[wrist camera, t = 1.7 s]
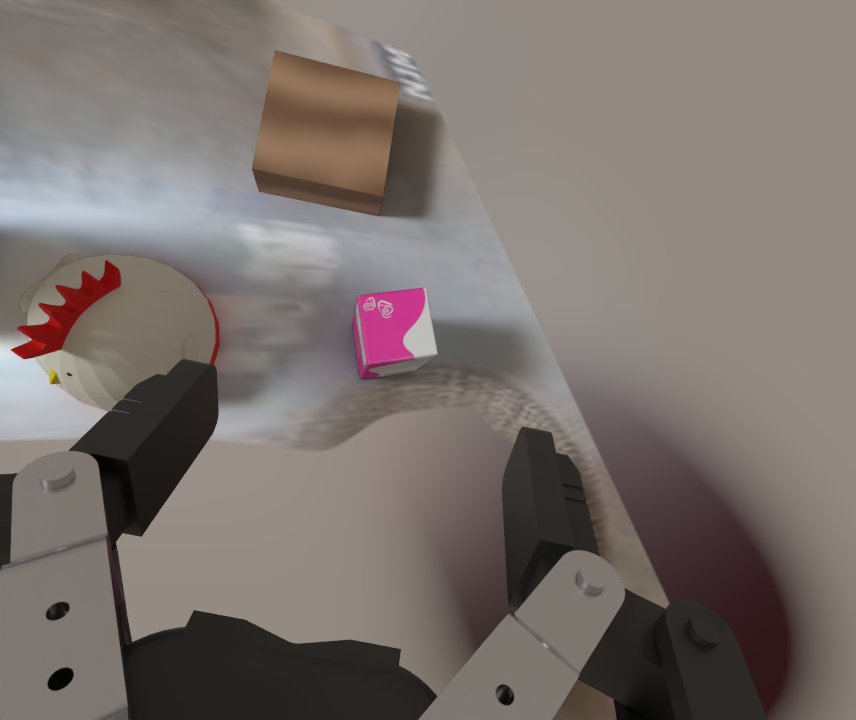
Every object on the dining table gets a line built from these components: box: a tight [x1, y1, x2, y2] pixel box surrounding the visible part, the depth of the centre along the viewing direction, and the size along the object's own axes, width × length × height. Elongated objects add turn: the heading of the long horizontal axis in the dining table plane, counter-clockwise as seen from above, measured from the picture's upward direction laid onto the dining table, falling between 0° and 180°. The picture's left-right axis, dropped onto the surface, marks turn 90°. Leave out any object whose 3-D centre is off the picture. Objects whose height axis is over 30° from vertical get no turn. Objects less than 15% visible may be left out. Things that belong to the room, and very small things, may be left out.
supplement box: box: [352, 288, 438, 379], centre depth 45 cm, size 6×6×12 cm
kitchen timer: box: [11, 254, 219, 411], centre depth 39 cm, size 14×14×15 cm
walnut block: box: [252, 50, 400, 216], centre depth 50 cm, size 12×12×5 cm
